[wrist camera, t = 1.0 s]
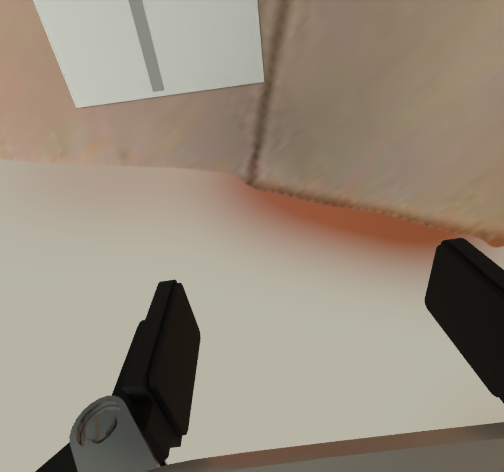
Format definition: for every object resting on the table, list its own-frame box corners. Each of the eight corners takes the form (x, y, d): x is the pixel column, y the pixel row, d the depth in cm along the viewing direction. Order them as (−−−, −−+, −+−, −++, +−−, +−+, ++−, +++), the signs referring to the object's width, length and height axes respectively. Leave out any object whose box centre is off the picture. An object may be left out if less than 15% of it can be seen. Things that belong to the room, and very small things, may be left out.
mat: (6, -77, 24) (0, -81, 23) (246, -115, 23) (247, -120, 22) (79, 107, 31) (76, 108, 30) (263, 81, 30) (264, 81, 30)
